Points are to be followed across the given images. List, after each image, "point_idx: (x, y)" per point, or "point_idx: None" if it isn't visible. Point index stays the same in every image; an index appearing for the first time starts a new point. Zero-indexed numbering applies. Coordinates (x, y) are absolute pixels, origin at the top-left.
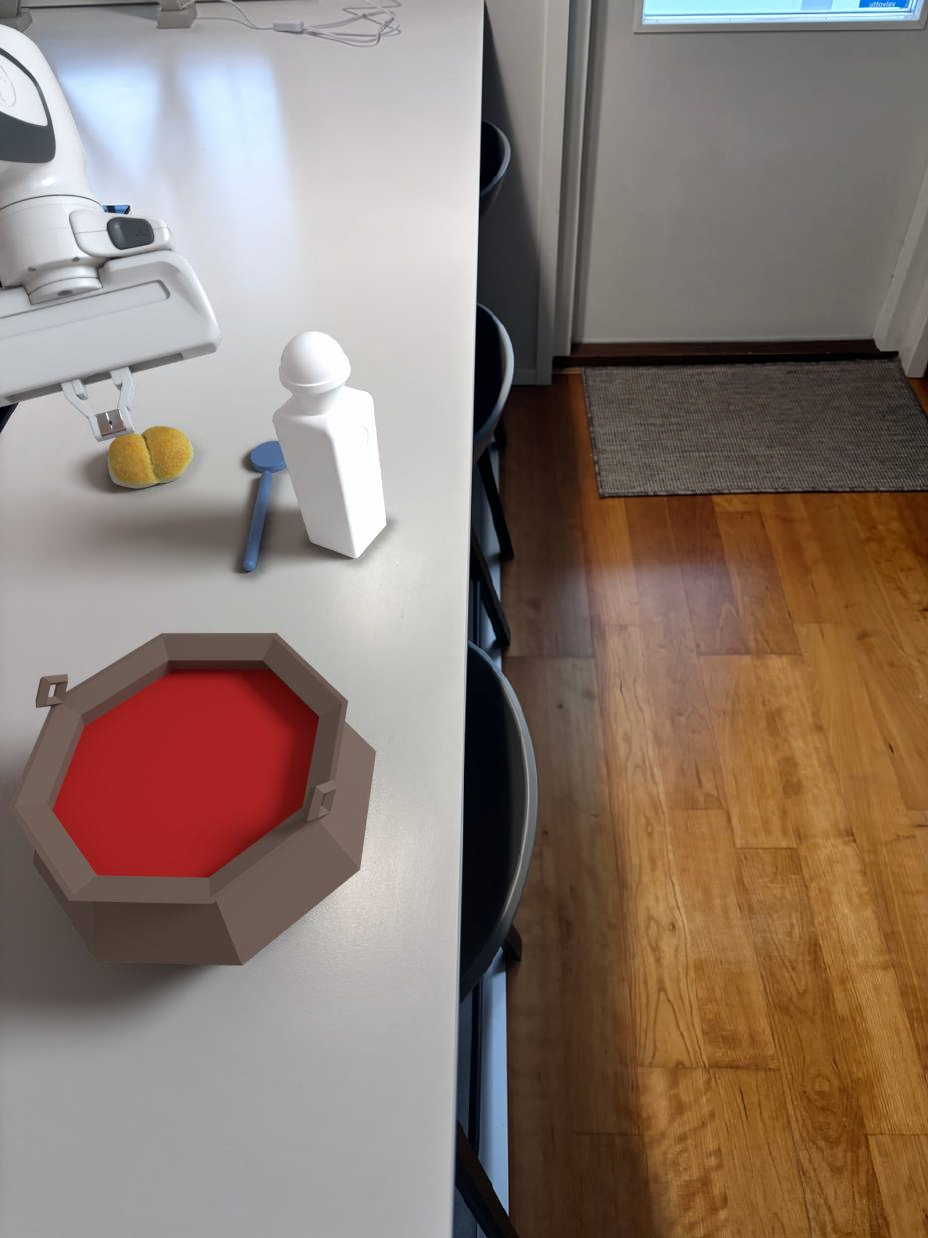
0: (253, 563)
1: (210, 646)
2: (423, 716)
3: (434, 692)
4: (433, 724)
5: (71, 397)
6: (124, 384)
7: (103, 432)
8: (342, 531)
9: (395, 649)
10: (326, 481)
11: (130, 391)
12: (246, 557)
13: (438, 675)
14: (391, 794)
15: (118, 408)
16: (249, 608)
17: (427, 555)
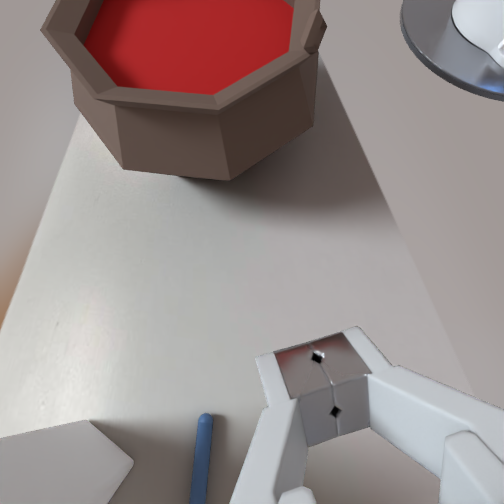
0: (199, 419)
1: (166, 96)
2: (67, 215)
3: (52, 235)
4: (62, 207)
5: (484, 414)
6: (265, 491)
7: (334, 335)
8: (70, 431)
9: (73, 284)
10: (17, 455)
11: (245, 464)
12: (206, 429)
13: (44, 252)
14: (105, 159)
15: (293, 400)
16: (207, 356)
17: (6, 414)
